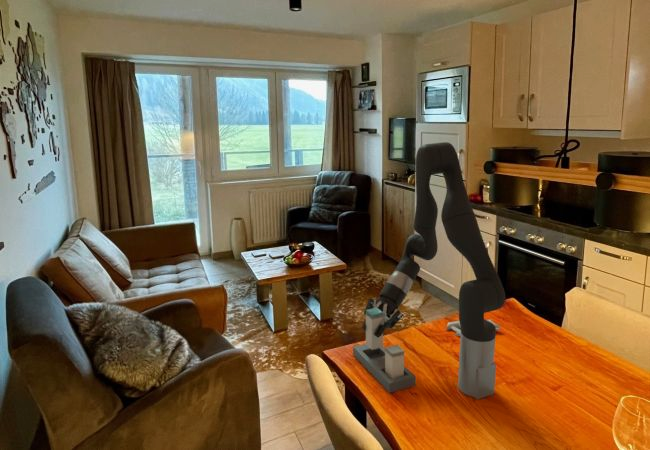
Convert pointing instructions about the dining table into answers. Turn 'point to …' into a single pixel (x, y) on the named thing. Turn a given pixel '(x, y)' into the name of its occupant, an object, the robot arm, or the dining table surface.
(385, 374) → the two-hole peg board
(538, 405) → the dining table surface
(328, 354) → the dining table surface
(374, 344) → the plug
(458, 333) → the gun
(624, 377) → the dining table surface
